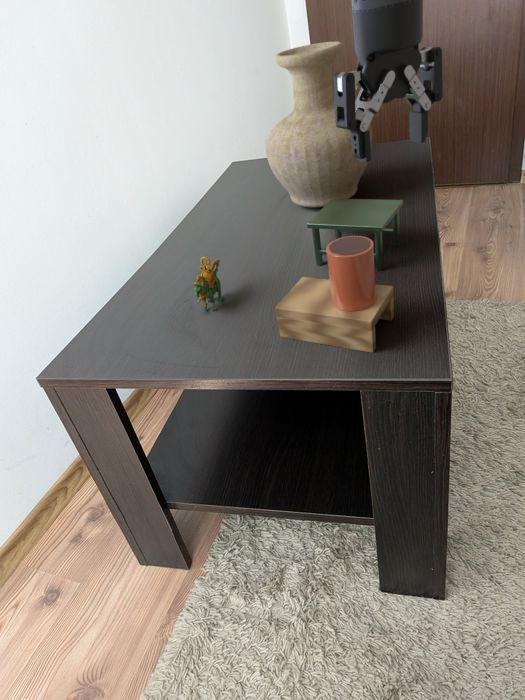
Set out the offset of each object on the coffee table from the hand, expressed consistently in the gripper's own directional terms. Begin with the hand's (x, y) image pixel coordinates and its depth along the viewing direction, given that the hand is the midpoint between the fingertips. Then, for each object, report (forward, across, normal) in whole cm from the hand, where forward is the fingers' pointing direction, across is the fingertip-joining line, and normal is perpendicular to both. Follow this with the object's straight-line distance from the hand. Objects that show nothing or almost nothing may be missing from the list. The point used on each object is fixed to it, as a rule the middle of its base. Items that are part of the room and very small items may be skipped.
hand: (391, 151), depth 65 cm
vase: (+22, +15, +43) cm, 51 cm away
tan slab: (+22, -11, 0) cm, 24 cm away
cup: (+17, -9, -3) cm, 19 cm away
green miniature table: (+22, +5, +16) cm, 27 cm away
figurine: (+22, -22, +20) cm, 37 cm away
